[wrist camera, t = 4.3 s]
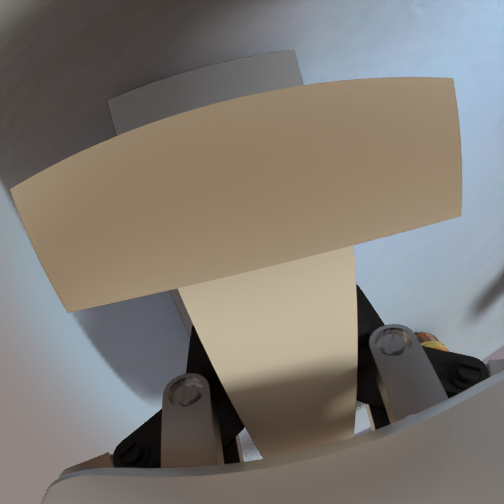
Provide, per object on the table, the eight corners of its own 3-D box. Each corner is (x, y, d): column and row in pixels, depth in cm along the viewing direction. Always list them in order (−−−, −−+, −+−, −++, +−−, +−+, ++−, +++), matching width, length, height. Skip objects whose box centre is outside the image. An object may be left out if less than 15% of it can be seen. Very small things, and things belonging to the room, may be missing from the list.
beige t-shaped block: (141, 137, 9) (10, 189, 3) (313, 94, 9) (452, 78, 3) (242, 399, 15) (252, 513, 9) (346, 374, 15) (387, 481, 9)
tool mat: (111, 101, 13) (107, 100, 13) (291, 52, 13) (293, 49, 13) (221, 394, 22) (221, 400, 21) (342, 364, 22) (345, 369, 21)
